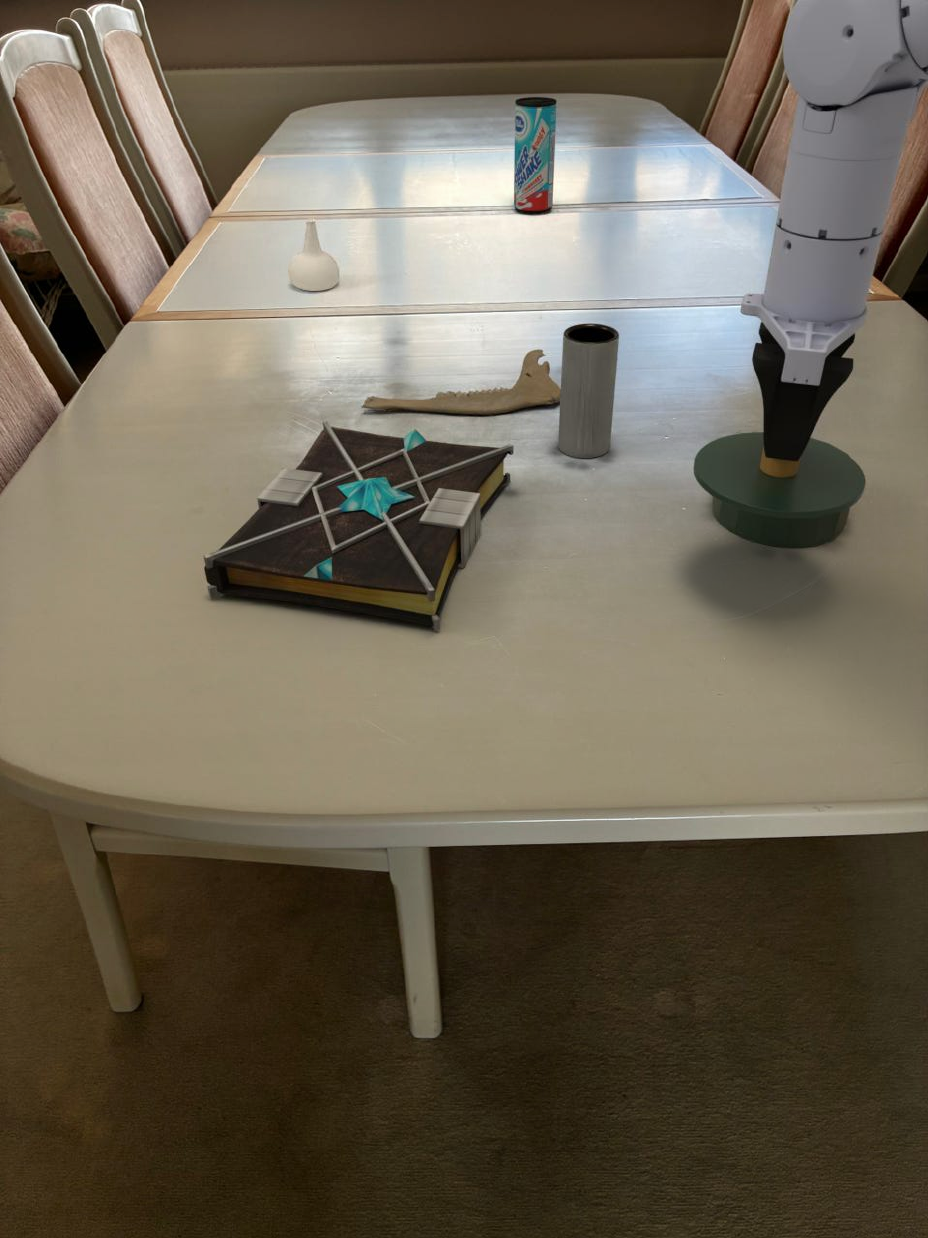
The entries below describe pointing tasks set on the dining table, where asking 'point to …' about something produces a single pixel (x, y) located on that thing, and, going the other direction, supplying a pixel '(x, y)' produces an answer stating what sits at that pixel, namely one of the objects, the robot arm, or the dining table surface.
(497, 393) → the jawbone
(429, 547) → the book
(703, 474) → the lid
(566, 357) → the planter
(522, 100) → the beverage can
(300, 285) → the garlic bulb
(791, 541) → the tin
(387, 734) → the dining table surface
